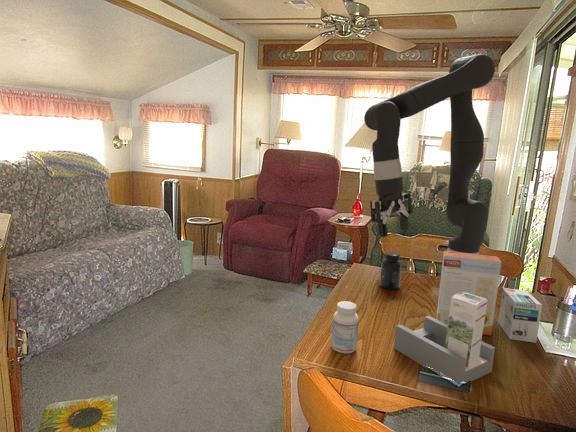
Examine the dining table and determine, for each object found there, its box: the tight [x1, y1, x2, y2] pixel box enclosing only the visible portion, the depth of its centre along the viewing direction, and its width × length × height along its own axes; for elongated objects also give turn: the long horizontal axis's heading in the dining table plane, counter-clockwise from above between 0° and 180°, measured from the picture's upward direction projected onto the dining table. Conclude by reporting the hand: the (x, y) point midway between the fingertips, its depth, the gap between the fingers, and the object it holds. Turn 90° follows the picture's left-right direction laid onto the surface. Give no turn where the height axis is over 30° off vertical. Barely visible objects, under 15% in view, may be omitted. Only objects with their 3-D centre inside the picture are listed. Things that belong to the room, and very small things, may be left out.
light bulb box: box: [497, 287, 543, 343], centre depth 109 cm, size 11×7×11 cm, turn 168°
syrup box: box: [445, 291, 487, 367], centre depth 88 cm, size 6×6×14 cm
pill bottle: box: [330, 300, 360, 354], centre depth 96 cm, size 6×6×11 cm
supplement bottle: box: [379, 251, 403, 291], centre depth 139 cm, size 7×7×12 cm
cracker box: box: [435, 250, 502, 337], centre depth 109 cm, size 14×6×21 cm, turn 71°
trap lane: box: [393, 315, 496, 384], centre depth 94 cm, size 12×18×6 cm, turn 32°
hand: (394, 233), depth 113 cm, fingers open, 8 cm apart
